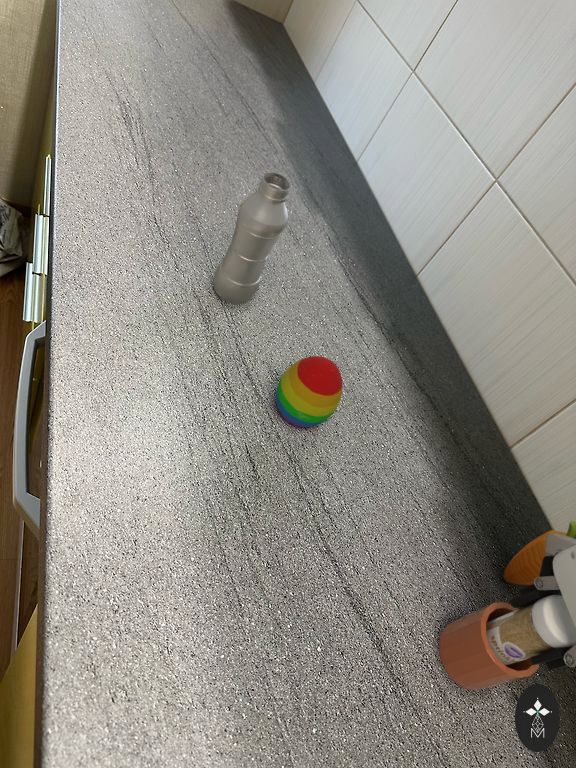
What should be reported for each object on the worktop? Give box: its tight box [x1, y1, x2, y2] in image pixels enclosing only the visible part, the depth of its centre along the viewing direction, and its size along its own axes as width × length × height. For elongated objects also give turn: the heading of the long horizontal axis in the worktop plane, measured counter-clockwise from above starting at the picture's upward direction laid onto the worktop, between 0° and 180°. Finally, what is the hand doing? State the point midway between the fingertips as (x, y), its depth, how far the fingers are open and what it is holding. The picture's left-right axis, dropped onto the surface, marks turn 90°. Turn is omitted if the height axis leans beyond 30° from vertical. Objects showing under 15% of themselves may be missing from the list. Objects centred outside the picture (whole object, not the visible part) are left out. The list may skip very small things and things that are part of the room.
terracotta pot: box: [438, 601, 540, 691], centre depth 62 cm, size 7×7×8 cm
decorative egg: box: [275, 355, 344, 428], centre depth 73 cm, size 8×8×10 cm
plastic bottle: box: [212, 171, 292, 304], centre depth 78 cm, size 6×7×20 cm
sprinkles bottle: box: [486, 594, 576, 665], centre depth 58 cm, size 5×5×14 cm
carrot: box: [502, 520, 576, 586], centre depth 67 cm, size 5×5×15 cm
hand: (532, 630), depth 57 cm, fingers closed on sprinkles bottle, 4 cm apart
